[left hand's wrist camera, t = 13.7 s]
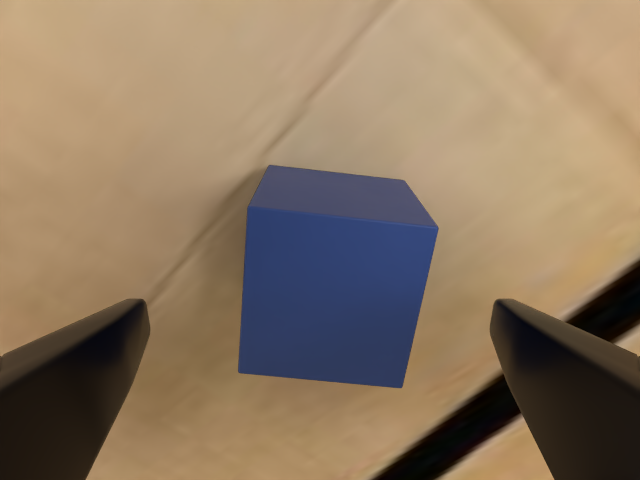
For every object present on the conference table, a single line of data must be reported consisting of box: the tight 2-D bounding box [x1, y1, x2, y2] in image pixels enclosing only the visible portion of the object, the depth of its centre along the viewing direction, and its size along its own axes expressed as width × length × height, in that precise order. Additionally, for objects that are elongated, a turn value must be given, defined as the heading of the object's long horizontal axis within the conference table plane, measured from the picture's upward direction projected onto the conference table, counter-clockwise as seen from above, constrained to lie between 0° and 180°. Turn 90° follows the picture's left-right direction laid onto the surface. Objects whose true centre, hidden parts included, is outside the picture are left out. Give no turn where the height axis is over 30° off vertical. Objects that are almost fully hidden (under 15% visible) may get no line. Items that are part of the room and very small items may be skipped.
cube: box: [238, 165, 438, 388], centre depth 14 cm, size 5×5×5 cm
